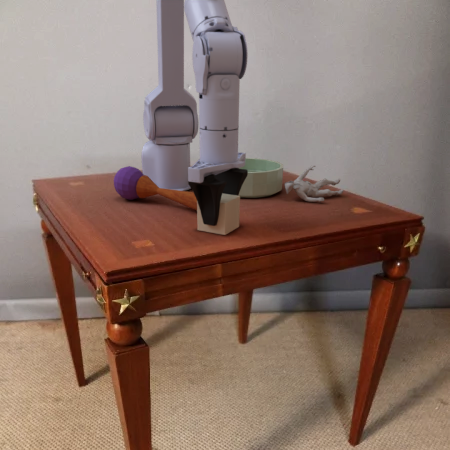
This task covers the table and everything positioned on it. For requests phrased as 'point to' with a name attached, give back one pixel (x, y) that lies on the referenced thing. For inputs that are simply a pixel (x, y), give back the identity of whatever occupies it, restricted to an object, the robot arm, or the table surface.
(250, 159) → the bowl
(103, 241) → the table surface
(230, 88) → the robot arm
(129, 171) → the purple wooden maraca
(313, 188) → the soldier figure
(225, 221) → the cube
